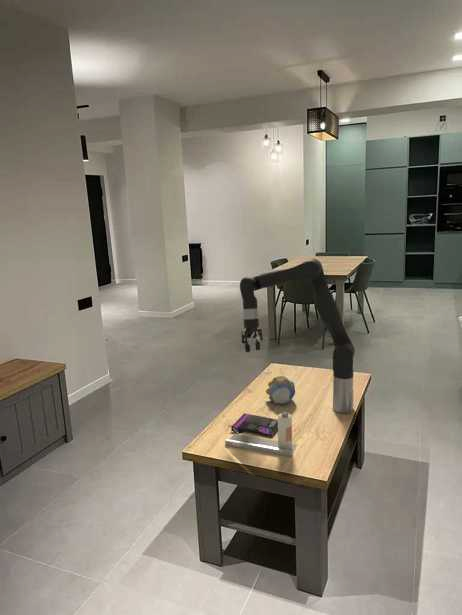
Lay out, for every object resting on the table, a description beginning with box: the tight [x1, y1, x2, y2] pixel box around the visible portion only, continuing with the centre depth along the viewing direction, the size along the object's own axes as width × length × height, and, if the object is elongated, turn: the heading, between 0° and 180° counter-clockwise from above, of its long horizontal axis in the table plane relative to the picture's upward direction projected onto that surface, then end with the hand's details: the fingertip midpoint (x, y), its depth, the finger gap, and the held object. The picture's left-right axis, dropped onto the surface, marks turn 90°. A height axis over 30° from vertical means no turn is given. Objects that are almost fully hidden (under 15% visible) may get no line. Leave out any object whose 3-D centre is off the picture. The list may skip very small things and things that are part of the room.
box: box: [230, 412, 278, 438], centre depth 205 cm, size 14×4×20 cm
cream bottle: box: [277, 411, 293, 450], centre depth 185 cm, size 6×6×15 cm
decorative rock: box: [265, 375, 296, 405], centre depth 232 cm, size 14×16×15 cm
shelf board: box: [226, 433, 298, 458], centre depth 190 cm, size 28×10×1 cm, turn 68°
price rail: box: [224, 438, 293, 457], centre depth 186 cm, size 28×1×2 cm, turn 68°
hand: (253, 351), depth 226 cm, fingers open, 8 cm apart
